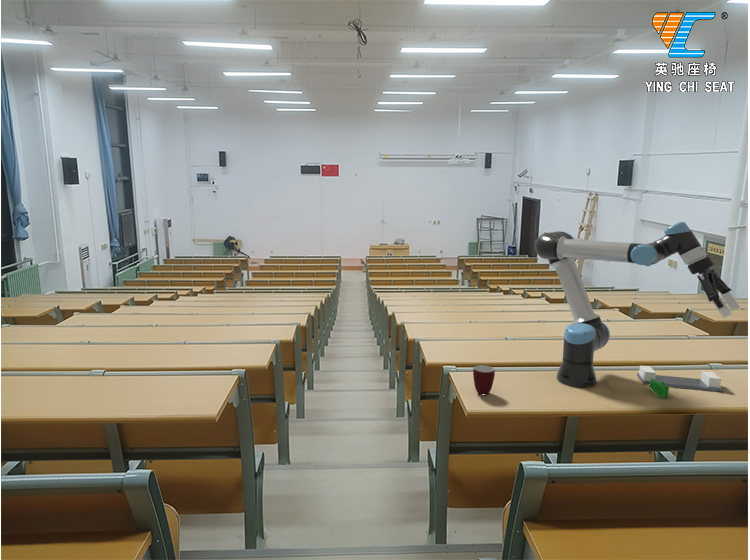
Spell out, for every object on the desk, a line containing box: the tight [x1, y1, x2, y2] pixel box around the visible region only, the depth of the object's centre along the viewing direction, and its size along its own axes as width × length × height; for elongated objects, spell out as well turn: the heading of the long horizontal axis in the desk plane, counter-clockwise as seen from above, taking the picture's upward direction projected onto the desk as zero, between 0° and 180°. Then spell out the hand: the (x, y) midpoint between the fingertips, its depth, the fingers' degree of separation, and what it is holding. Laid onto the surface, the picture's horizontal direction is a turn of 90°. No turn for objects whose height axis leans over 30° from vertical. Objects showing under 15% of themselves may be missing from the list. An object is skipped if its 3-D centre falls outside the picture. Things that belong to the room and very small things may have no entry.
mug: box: [472, 364, 496, 395], centre depth 183 cm, size 10×8×10 cm
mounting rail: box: [636, 365, 723, 393], centre depth 193 cm, size 28×10×5 cm, turn 74°
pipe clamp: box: [649, 379, 670, 400], centre depth 183 cm, size 10×4×4 cm, turn 173°
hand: (732, 312), depth 167 cm, fingers open, 13 cm apart
